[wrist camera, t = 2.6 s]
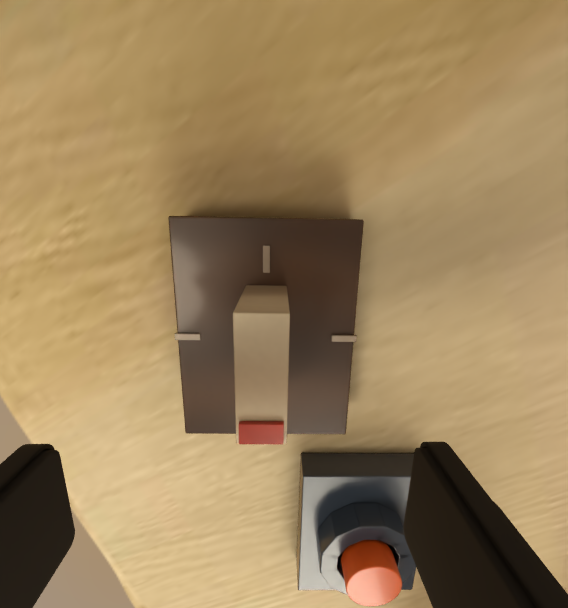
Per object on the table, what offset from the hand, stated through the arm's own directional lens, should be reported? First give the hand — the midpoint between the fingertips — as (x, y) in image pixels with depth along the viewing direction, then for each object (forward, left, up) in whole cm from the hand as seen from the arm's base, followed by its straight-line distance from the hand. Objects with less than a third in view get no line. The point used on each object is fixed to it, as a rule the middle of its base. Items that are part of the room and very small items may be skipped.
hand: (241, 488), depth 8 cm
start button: (+16, +7, -9) cm, 19 cm away
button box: (+16, +7, -13) cm, 21 cm away
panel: (0, 0, -13) cm, 13 cm away
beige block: (0, 0, -10) cm, 10 cm away
